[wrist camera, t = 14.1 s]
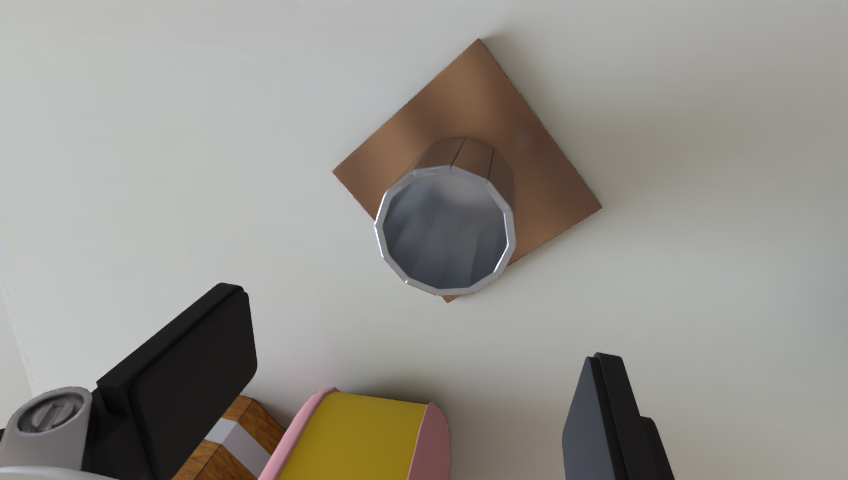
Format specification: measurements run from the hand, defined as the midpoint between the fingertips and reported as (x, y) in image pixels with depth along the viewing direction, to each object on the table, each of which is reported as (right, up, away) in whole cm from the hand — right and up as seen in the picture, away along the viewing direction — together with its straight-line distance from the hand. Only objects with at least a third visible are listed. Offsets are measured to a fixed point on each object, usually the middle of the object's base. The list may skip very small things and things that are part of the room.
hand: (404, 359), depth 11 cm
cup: (+3, +6, +15) cm, 16 cm away
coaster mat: (+3, +7, +15) cm, 17 cm away
